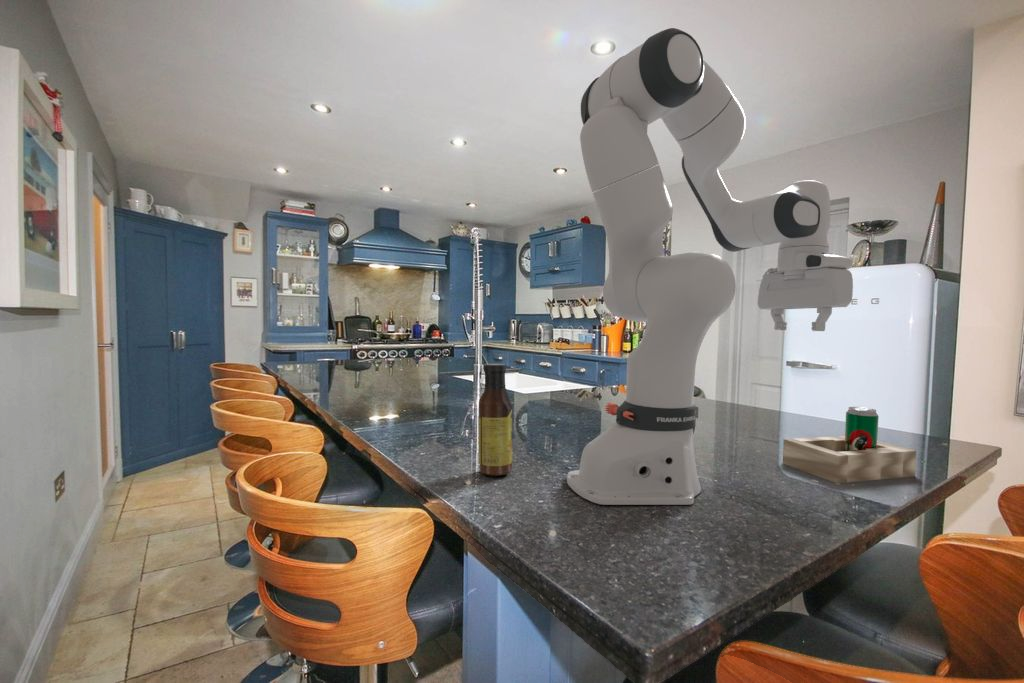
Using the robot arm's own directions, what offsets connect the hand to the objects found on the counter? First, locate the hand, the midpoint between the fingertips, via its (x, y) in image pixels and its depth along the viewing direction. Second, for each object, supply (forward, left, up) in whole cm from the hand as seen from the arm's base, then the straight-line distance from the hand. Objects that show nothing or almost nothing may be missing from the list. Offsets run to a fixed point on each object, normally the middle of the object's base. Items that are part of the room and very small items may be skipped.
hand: (798, 330), depth 96 cm
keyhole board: (+4, -8, -27) cm, 28 cm away
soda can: (+7, -9, -27) cm, 29 cm away
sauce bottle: (-63, +4, -27) cm, 69 cm away
